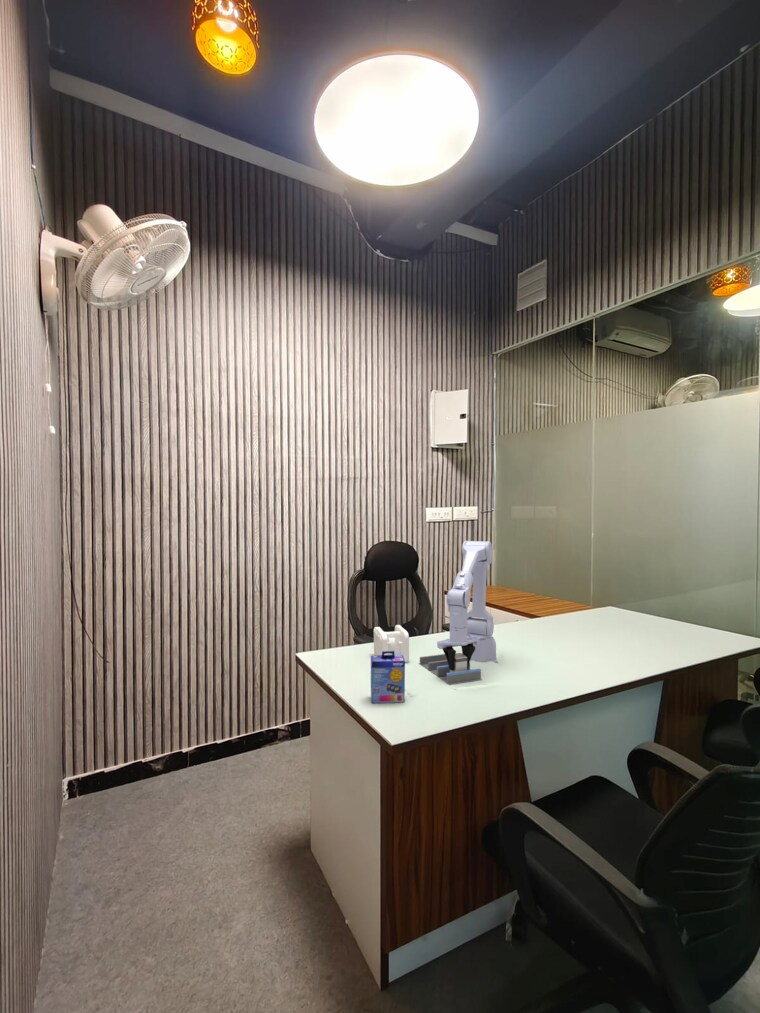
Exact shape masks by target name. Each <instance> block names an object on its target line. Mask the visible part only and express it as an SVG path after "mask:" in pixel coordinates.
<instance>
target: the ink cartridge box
mask: <svg viewBox="0 0 760 1013" xmlns="http://www.w3.org/2000/svg"><path fill="white" fill-rule="evenodd" d="M386 653H391V654H392V655H384V654H386ZM405 677H406V662H405V660H404V657H403V655H394V651H382V655H370V697H371V698H370V700H371V704H383V703H384V704H386V703H387V704H388V703H389V704H390V703H394V704H395V703H405V702H406V699H405V697H406V696H405V691H406V689H405V686H406V684H405V683H406V682H405V681H406V679H405Z"/></svg>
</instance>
